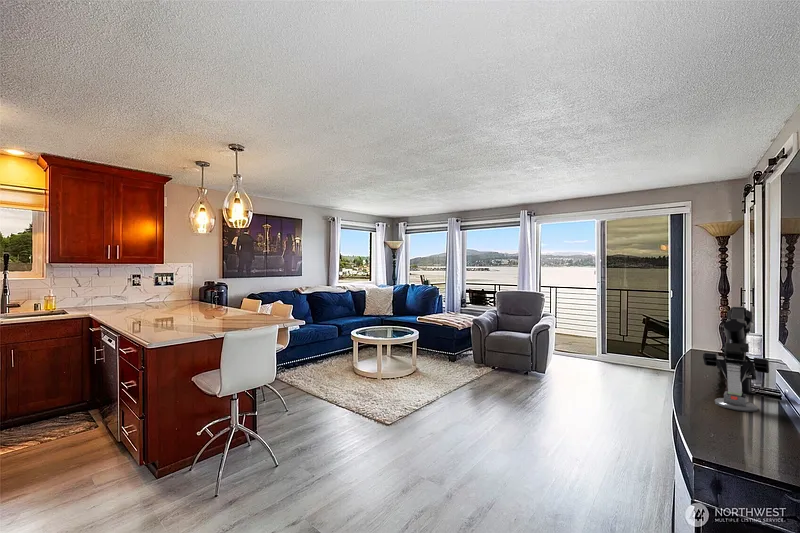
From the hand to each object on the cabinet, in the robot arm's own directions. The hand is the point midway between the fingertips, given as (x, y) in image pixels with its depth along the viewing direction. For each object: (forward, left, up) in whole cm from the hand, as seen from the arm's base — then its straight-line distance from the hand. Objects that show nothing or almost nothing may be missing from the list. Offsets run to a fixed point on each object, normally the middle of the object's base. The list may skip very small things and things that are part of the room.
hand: (734, 380), depth 138 cm
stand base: (-1, -1, -10) cm, 10 cm away
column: (-1, -1, -6) cm, 6 cm away
